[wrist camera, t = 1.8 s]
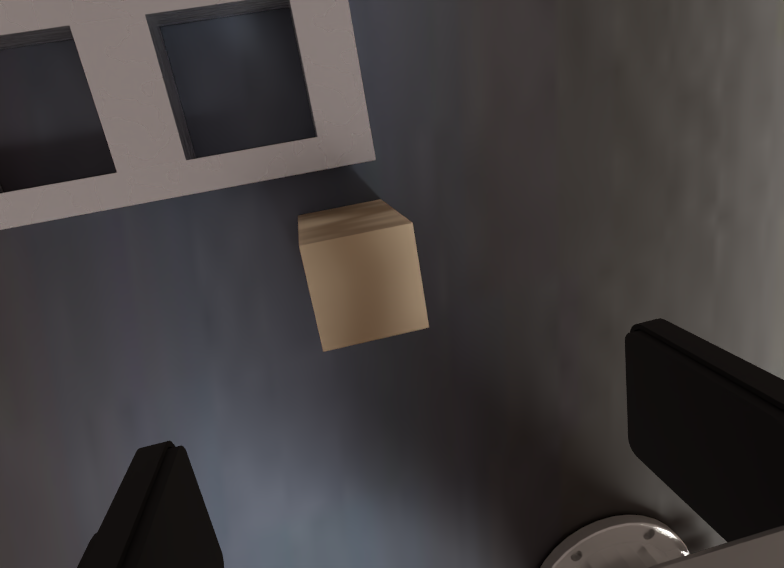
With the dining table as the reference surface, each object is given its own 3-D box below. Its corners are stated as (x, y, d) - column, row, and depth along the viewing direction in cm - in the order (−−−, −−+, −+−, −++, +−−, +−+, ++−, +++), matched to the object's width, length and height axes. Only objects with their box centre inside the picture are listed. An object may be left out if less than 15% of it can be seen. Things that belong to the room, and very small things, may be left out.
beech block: (380, 199, 28) (412, 222, 20) (394, 277, 29) (428, 327, 22) (297, 215, 27) (299, 245, 20) (315, 294, 29) (323, 351, 21)
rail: (334, -36, 25) (338, -54, 22) (368, 157, 27) (375, 159, 25) (-128, 28, 22) (-179, 15, 20) (-40, 233, 25) (-75, 243, 22)
